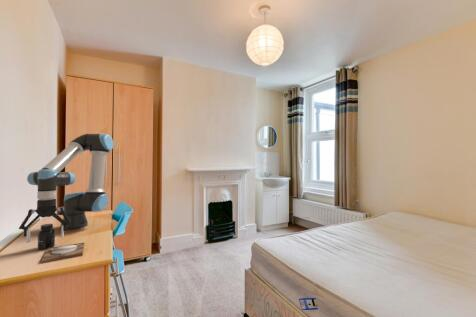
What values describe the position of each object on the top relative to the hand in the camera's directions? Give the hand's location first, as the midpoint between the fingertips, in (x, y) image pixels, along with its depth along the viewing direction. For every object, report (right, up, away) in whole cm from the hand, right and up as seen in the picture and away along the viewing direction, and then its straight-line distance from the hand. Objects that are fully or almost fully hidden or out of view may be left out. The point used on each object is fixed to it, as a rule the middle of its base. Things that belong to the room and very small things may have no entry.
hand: (45, 239), depth 115 cm
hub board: (+15, -4, -6) cm, 16 cm away
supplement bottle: (0, -4, 0) cm, 4 cm away
